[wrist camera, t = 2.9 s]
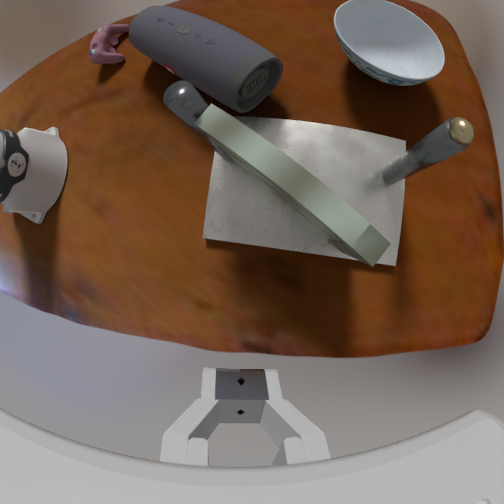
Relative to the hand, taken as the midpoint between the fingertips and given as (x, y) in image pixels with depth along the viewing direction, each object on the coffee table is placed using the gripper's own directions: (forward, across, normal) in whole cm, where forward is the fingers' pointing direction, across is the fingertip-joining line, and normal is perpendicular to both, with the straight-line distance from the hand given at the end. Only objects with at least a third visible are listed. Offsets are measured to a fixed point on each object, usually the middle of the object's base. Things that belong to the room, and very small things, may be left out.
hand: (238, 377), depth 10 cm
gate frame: (+25, +9, +4) cm, 26 cm away
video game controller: (+42, -24, +27) cm, 56 cm away
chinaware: (+29, +19, +24) cm, 42 cm away
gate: (+23, +7, +2) cm, 24 cm away
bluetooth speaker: (+34, -6, +20) cm, 40 cm away
